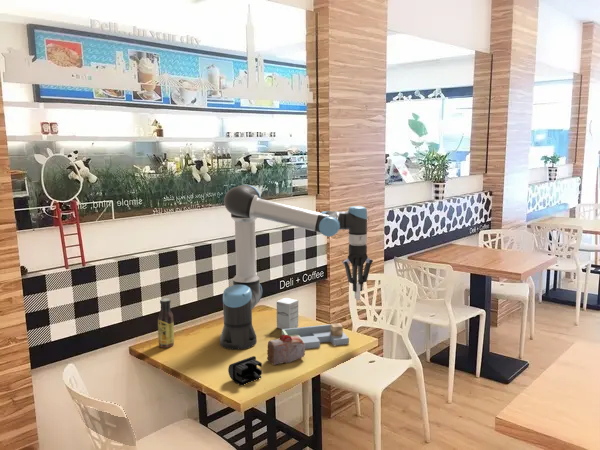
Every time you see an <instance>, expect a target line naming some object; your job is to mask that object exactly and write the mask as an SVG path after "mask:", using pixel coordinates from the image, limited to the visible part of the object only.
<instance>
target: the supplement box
mask: <svg viewBox="0 0 600 450" xmlns="http://www.w3.org/2000/svg"><path fill="white" fill-rule="evenodd" d="M276 328H277V329H280V330H282V329H289V328H299V300H298V299H296V298H295V299H293V298H289V297H283V298H281V299H279V300H277V301H276Z"/></svg>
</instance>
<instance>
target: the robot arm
mask: <svg viewBox="0 0 600 450" xmlns="http://www.w3.org/2000/svg"><path fill="white" fill-rule="evenodd" d="M261 197H262V196H261V194H260V192H259V190H258V189H257V187H255V186H253V185H250V184H240V185H238V186H235V187H232V188H230V189H229V190H228V191H226V194H225V196H224V199H223V203H224V207H225V209H226V210H227V212H229V213H230V217H231V219H232V220H234V239H235V240H234V242H235V247H234V248H235V274H236V275H234V276H233V278H232V285H231V286H230V285H229V286H228V287H226V288H225V289H224V290H223V293H222V308H223V312H222V313H223V315H222V316H223V328H222V330H221V335H220V337H219V344H220V346H221V347H223V348H224V349H227V350H234V351H235V350H237V351H238V350H239V351H241V350H245V349H250V348H252V347H254V346H255V345H256V344H257V341H258V340H257V334H256V331H255V329H254V326H253V316H252V315H253V312H252V310H253V309H254V308H255V306H256V305H257V304H258V303H260V300H261V298H262V296H263V287H262V284H260V277H259V276H258V275H257V267H256V266H257V264H256V263H257V261H256V259H257V258H256V220H257V219H258V218H259V219H261V220H266V221H269V222H270V221H271V222H275V223H278V224H283V225H286V226H291V227H295V228H296V227H297V228H299V229H303V230H304V229H305V230H308V231H312V232H316V233H320V234H321V235H323V236H325V237H333V236H335V235H336V234H338V232H339V231H340V230H344V231H345V230H348V243H349V244H348V256H347V258H346V259H345V260H342V265H344V269H345V272H346V277H347V281H348V282H349V283H350V284H352V291H353V292H354V299H355V300H356V301H357V300H358V301H359V300H361V292H362V291H363V285H364V283H366V282H367V281H368V279H369V273H370V269H371V265H372V264H373V263H374V261H373V259H371V258H369V256H368V245H367V242H368V208H366V207H365V206H361V205H358V206H357V205H355V206H354V205H353V206H350V207H348V210H346V211H334V210H333V211H332V210H331V211H330V210H326V211H324V210H323V211H321V212H318V211H313V210H309V209H307V208H306V209H304V208H301V207H297V206H292V205H290V204H289V205H288V204H284V203H280V202H275V201H272V200H268V199H264V198H261ZM350 264H351V268H352V270H351V268H350ZM364 264H365V266H364ZM351 271H352V272H351Z"/></svg>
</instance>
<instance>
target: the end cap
mask: <svg viewBox="0 0 600 450" xmlns="http://www.w3.org/2000/svg"><path fill="white" fill-rule="evenodd" d="M262 367H263V365H262V362H261V361H259V360H257V357H256V356H254V355H253V356H250V357H247V358H244V359H242V360H238V361H235V362H233V363H230V364H229V365H228V368H227V371H228V375H229V378H230V379H231V380H232V382H234V383H235V384H237V385H238V384H239V385H238V386H240V385H243V386H245V385H244V384H246V383H248V382H251V381H253V382H255V381H254V380H256V379H258V380H260V379H259V378H261V379H262V374H263V370H262V369H261V368H262ZM256 381H257V380H256ZM251 383H252V382H251ZM248 384H249V383H248ZM246 385H247V384H246Z"/></svg>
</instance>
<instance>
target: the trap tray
mask: <svg viewBox="0 0 600 450" xmlns="http://www.w3.org/2000/svg"><path fill="white" fill-rule="evenodd" d="M331 324H332V323H329V324H321V325H310V326H301V327H299V326H298V327H296V328H289V329H281V335H289V336H290V337H292V336H295V335H297V336H299V337H300V338H301V339H302V340H303V342H304V343H305V350H306V349H316V348H321V343H329V342H330V343H331V344H332V345H333V346H341V345H342V346H343V345H349V344H350V343H349V342H350V337H348V335H347V334H346V333H345V332H344V331H343V335H342V336H333V335H332V334H331Z"/></svg>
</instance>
